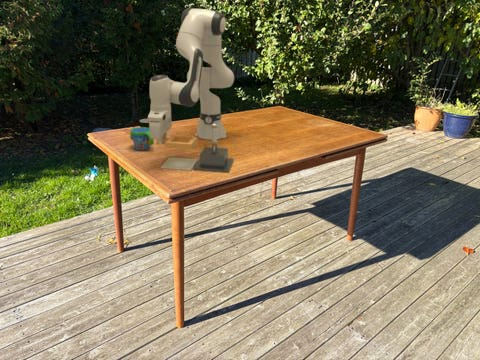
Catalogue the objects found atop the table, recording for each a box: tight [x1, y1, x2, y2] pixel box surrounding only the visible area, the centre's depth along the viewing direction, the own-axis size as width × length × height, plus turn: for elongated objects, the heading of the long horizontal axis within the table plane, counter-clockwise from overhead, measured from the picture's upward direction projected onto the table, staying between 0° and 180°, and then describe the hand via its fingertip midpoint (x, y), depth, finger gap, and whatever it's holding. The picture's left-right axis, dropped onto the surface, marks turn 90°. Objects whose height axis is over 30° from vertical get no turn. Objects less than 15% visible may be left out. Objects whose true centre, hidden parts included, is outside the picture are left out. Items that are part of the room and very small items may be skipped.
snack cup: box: [129, 126, 155, 151], centre depth 191 cm, size 16×10×10 cm
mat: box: [160, 156, 199, 172], centre depth 174 cm, size 14×14×1 cm
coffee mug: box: [132, 118, 150, 129], centre depth 209 cm, size 12×9×10 cm
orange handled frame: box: [156, 134, 198, 150], centre depth 170 cm, size 12×17×2 cm
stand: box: [193, 123, 234, 174], centre depth 170 cm, size 16×16×20 cm
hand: (162, 142), depth 171 cm, fingers closed on orange handled frame, 3 cm apart
